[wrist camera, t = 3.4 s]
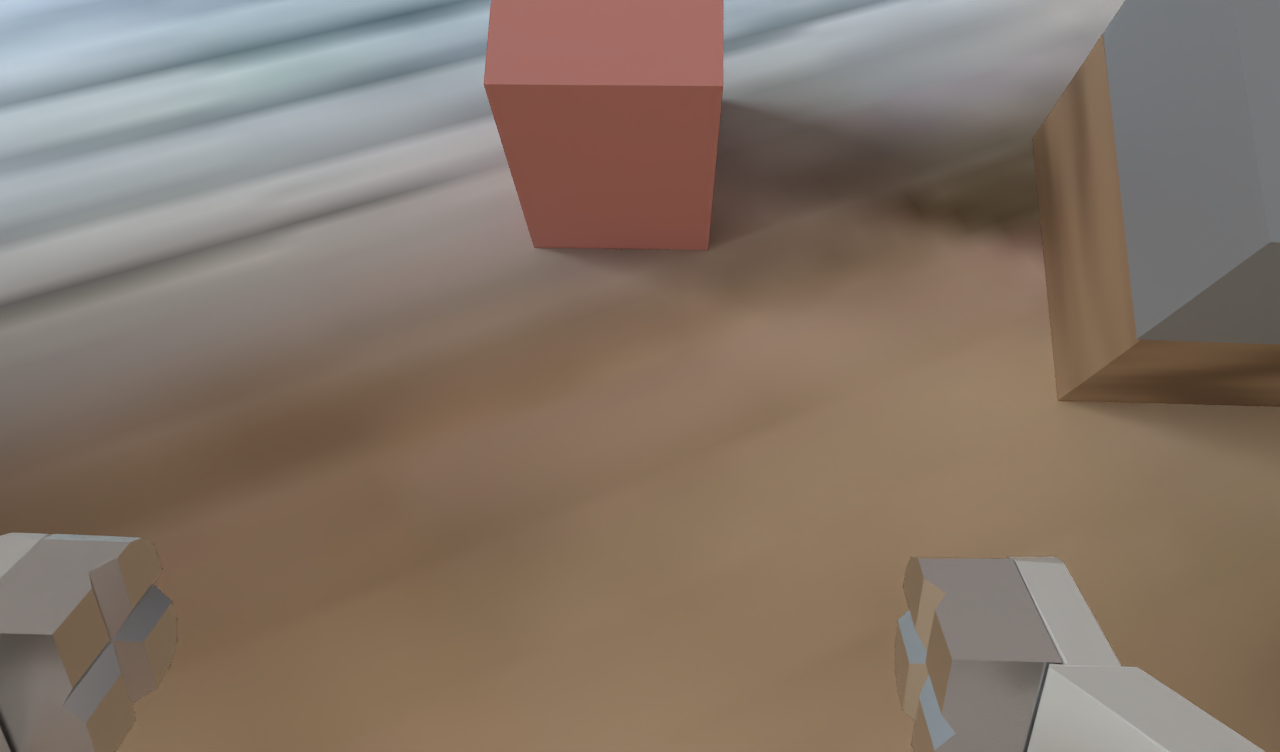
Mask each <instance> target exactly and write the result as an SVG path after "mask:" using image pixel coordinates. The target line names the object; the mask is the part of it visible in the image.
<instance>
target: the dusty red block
mask: <svg viewBox="0 0 1280 752" xmlns="http://www.w3.org/2000/svg"><path fill="white" fill-rule="evenodd" d="M484 87H485V90H486V93H487V96H488V100H489V103H490V106H491V109H492V113H493V116H494V119H495V122H496V125H497V129H498V132H499V135H500V138H501V142H502V145H503V148H504V151H505V155H506V158H507V161H508V164H509V168H510V171H511V174H512V177H513V181H514V184H515V187H516V190H517V193H518V197H519V200H520V203H521V206H522V210H523V213H524V216H525V219H526V223H527V226H528V229H529V232H530V236H531V239H532V242H533V245H534V247H539V248H614V249H690V250H708V246H709V235H710V224H711V213H712V202H713V191H714V180H715V169H716V159H717V148H718V137H719V126H720V115H721V104H722V93H723V0H491V8H490V19H489V31H488V42H487V53H486V65H485V76H484Z"/></svg>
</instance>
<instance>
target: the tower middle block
mask: <svg viewBox="0 0 1280 752" xmlns="http://www.w3.org/2000/svg"><path fill="white" fill-rule="evenodd" d="M1103 38H1104V47H1105V56H1106V65H1107V74H1108V84H1109V93H1110V102H1111V111H1112V120H1113V129H1114V138H1115V147H1116V156H1117V165H1118V174H1119V183H1120V192H1121V201H1122V210H1123V219H1124V228H1125V237H1126V247H1127V256H1128V265H1129V274H1130V283H1131V292H1132V301H1133V310H1134V319H1135V328H1136V337H1137V339H1138V340H1166V341H1194V342H1222V343H1250V344H1278V345H1280V0H1125V2H1124V3H1123V5H1122V6H1121V8H1120V9H1119V11H1118V12H1117V14H1116V15H1115V17H1114V18H1113V20H1112V21H1111V23H1110V24H1109V26H1108V27H1107V29H1106V30H1105V32H1104V33H1103Z"/></svg>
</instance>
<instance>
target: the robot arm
mask: <svg viewBox="0 0 1280 752" xmlns="http://www.w3.org/2000/svg"><path fill="white" fill-rule="evenodd" d="M162 569H163V568H162V565H161V562H160V559H159V556H158V553H157V550H156V548H155V545H154V544H153V543H151V542H149V541H147V540H146V539H144V538H138V537H116V536H95V535H73V534H54V535H52V534H41V533H9V534H5V535H2V536H0V752H116V750H117V749H118V747H119V746H120V744H121V743H122V741H123V740H124V738H125V737H126V735H127V734H128V732H129V731H130V729H131V728H132V726H133V725H134V723H135V722H136V717H135V712H134V708H133V703H134V702H136V701H137V700H139V699H141V698H142V697H144V696H145V695H147V694H149V693H150V692H152V691H153V690H155V689H156V688H158V686H159V684H160V683H161V681H162V680H163V678H164V676H165V675H166V673H167V671H168V670H169V668H170V666H171V663H172V659H173V655H174V652H175V648H176V644H177V641H178V639H177V617H176V614H175V610H174V606H173V603H172V601H171V600H170V599H169V598H168V597H167V596H166V595H165V594H164V593H162V592H161V591H160V590H159V589H158V588H157V587H156V586H155V585H154V583H155V581H156V580H157V578H158V576H159V574H160V573H161V571H162ZM903 590H904V593H905V596H906V600H907V603H908V607H909V610H908V611H907V612H906V613H905V614H904V615H903V616H902V617H901V618H900V619H899V620H898V622H897V630H896V639H895V676H896V683H897V689H898V694H899V698H900V702H901V707H902V710H903V711H904V712H905V713H906V714H907V715H908V716H910V717H911V718H912V719H913V720H914V721H915V725H914V731H913V737H912V743H911V746H912V749H913V752H1265V751H1264V750H1262V749H1261V748H1259V747H1258V746H1256V745H1255V744H1253V743H1252V742H1250V741H1249V740H1247V739H1246V738H1244V737H1243V736H1241V735H1240V734H1238V733H1237V732H1235V731H1233V730H1232V729H1230V728H1229V727H1227V726H1226V725H1224V724H1223V723H1221V722H1220V721H1218V720H1217V719H1215V718H1214V717H1212V716H1211V715H1209V714H1208V713H1206V712H1205V711H1203V710H1202V709H1200V708H1199V707H1197V706H1196V705H1194V704H1193V703H1191V702H1190V701H1188V700H1187V699H1185V698H1184V697H1182V696H1181V695H1179V694H1178V693H1176V692H1175V691H1173V690H1172V689H1170V688H1169V687H1167V686H1166V685H1164V684H1163V683H1161V682H1159V681H1158V680H1156V679H1155V678H1153V677H1152V676H1150V675H1149V674H1147V673H1146V672H1144V671H1143V670H1141V669H1140V668H1138V667H1126V666H1122V665H1121V663H1120V661H1119V659H1118V658H1117V656H1116V654H1115V652H1114V650H1113V649H1112V647H1111V645H1110V643H1109V642H1108V640H1107V638H1106V636H1105V634H1104V633H1103V631H1102V629H1101V627H1100V626H1099V624H1098V622H1097V620H1096V618H1095V617H1094V615H1093V613H1092V611H1091V610H1090V608H1089V606H1088V604H1087V602H1086V601H1085V599H1084V597H1083V595H1082V594H1081V592H1080V590H1079V588H1078V586H1077V585H1076V583H1075V581H1074V579H1073V578H1072V576H1071V574H1070V572H1069V571H1068V569H1067V567H1066V565H1065V563H1064V562H1063V561H1061V560H1060V559H1058V558H1057V557H1007V558H964V557H912V556H910V559H909V562H908V564H907V567H906V571H905V577H904V583H903Z"/></svg>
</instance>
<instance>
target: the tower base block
mask: <svg viewBox="0 0 1280 752" xmlns="http://www.w3.org/2000/svg"><path fill="white" fill-rule="evenodd" d="M1032 140H1033V151H1034V161H1035V171H1036V181H1037V192H1038V202H1039V212H1040V223H1041V233H1042V243H1043V254H1044V264H1045V274H1046V284H1047V295H1048V305H1049V315H1050V326H1051V336H1052V346H1053V357H1054V367H1055V377H1056V387H1057V398H1058V401H1091V402H1129V403H1167V404H1204V405H1242V406H1280V345H1278V344H1250V343H1222V342H1194V341H1166V340H1138V339H1137V337H1136V328H1135V319H1134V310H1133V301H1132V292H1131V283H1130V274H1129V265H1128V256H1127V247H1126V237H1125V228H1124V219H1123V210H1122V201H1121V192H1120V183H1119V174H1118V165H1117V156H1116V147H1115V138H1114V129H1113V120H1112V111H1111V102H1110V93H1109V84H1108V74H1107V65H1106V56H1105V47H1104V38H1103V35H1102V36H1101V37H1100V39H1099V40H1098V42H1097V43H1096V45H1095V46H1094V48H1093V49H1092V51H1091V52H1090V54H1089V55H1088V57H1087V58H1086V60H1085V61H1084V63H1083V64H1082V66H1081V67H1080V69H1079V70H1078V72H1077V73H1076V75H1075V76H1074V78H1073V79H1072V81H1071V82H1070V84H1069V85H1068V87H1067V88H1066V90H1065V91H1064V93H1063V94H1062V96H1061V97H1060V99H1059V100H1058V102H1057V103H1056V105H1055V106H1054V108H1053V109H1052V111H1051V112H1050V114H1049V115H1048V117H1047V118H1046V120H1045V121H1044V123H1043V124H1042V126H1041V127H1040V129H1039V130H1038V132H1037V133H1036V135H1035V136H1034V138H1033V139H1032Z"/></svg>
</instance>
